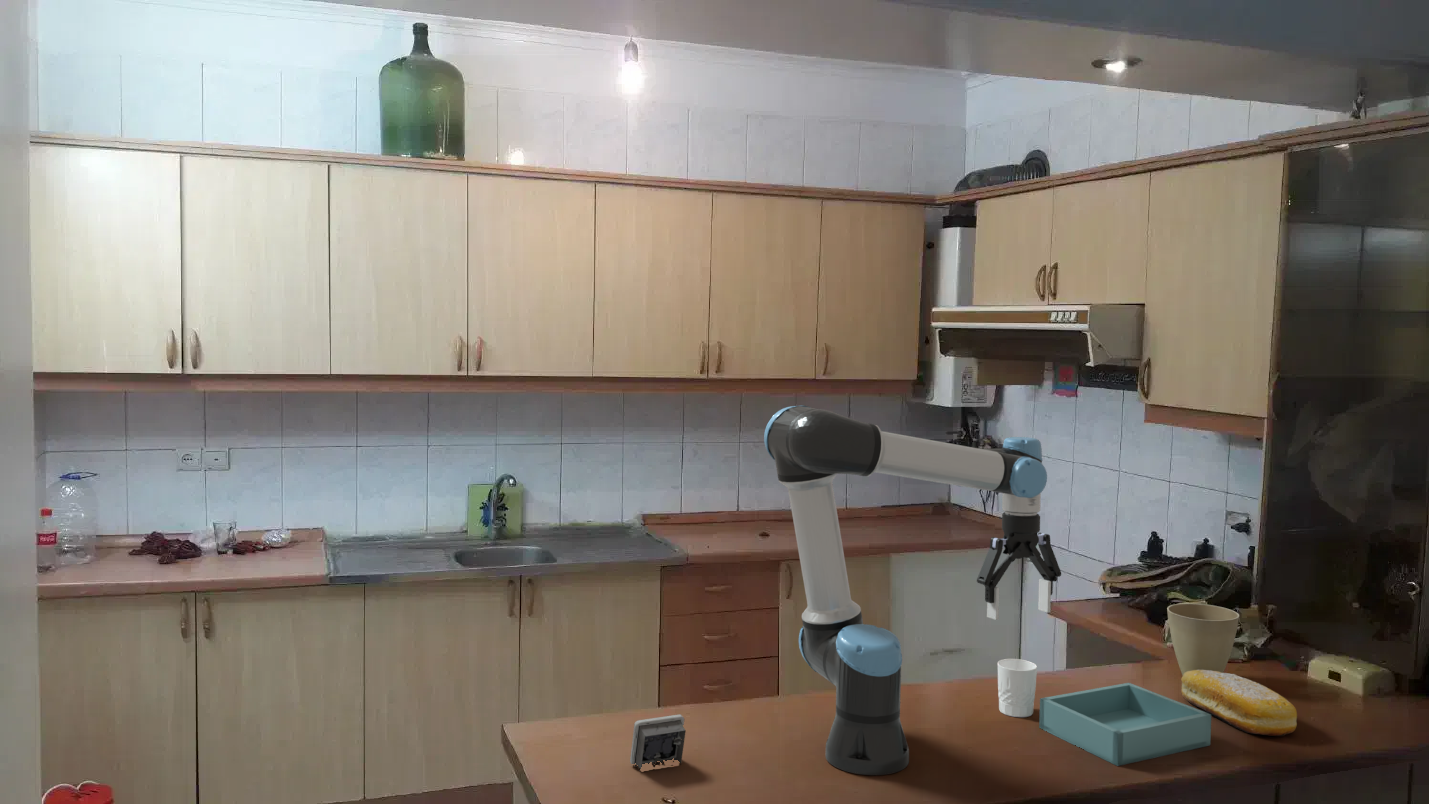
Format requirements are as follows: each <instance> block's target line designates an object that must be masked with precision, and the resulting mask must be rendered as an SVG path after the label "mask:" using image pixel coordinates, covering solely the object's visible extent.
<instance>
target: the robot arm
mask: <svg viewBox="0 0 1429 804" xmlns="http://www.w3.org/2000/svg"><path fill="white" fill-rule="evenodd" d="M769 419H770V420H769V421H768V423H767V424H766V427H765V429H764V434H763V435H764V436H763V440H764V441H763V442H764V447H765V450H766V452H767V453H768V454H769V456H770V457H771V458H772V459H773V460H774V462H775V468H776V473H777V478H778V483H780V484H781V485H783V486H785V487H786V489H787V492H788V497H789V498H788V499H789V502H790V503H789V504H790V508H791V515H792V520H793V526H794V532H795V539H796V545H797V551H798V556H799V562H800V568H801V575H802V579H803V586H804V593H805V598H806V604H807V606H806V608H805V609H804V611H803V612H802V613H801V621H802V627H801V628H800V630H799V635H798V647H799V651H800V654H801V656H802V659H803V660H804V661H805V662H806V663H807V665H808V666H809V668H811V669H812V670H813V671H814V672H815V673H817V674H818V675H820V676H821V677H823V678H825V680H826V681H828V682H829V683H831V684H832V685H834V686H835V688H836V689H835V690H836V691H835V717H834V720H833V722H832V725H831V728H830V730H829V734H828V737H827V739H826V743H825V760H826V761H827V762H828V763H829V764H830V765H832V766H833V767H835V768H837V769H839V770H842V771H844V772H847V773H852V774H856V775H864V776H883V775H890V774H895V773H898V772H900V771H903V770H904V769H905V768H907V767H908V765H909V762H910V749H909V745H908V742H907V739H906V735H905V733H904V729H903V726H902V725H903V724H902V722H901V691H902V688H901V687H902V663H903V654H902V647H901V646H902V645H901V642H900V639H899V638H898V637H897V636H896V634H895V633H893V632H892V631H890V630H889V629H886V628H884V627H877V625H873V624H866V623H865V624H864V622H863V621H864V620H863V614H862V608H861V606H860V605H859V604H858V603H857V602H855V600H854V601H853V600H852V598H851V597H852V596H851V589H850V583H849V577H848V572H847V565H846V559H845V554H844V547H843V541H842V534H841V527H840V522H839V516H838V510H837V509H838V508H837V504H836V499H835V498H836V497H835V492H834V490H835V489H834V486H833V485H834V484H833V481H834V480H835V478H836V477H837V475H852V476H853V475H854V476H860V477H870V476H872V475H873V474H874V473H877V474H884V475H890V476H897V477H903V478H906V479H907V478H908V479H915V480H921V481H927V482H931V483H933V482H934V483H939V484H946V485H951V486H956V487H965V488H971V489H976V490H977V489H978V490H981V491H989V492H993V493H1001V494H1002V499H1001V500H1002V501H1001V503H1002V504H1001V506H1002V507H1001V510H1003V511H1004V512H1003V513H1002V514H1001V529H1002V531H1003V537H1002V538H998V537H994V536H992V537H991V538H990V541H989V542H990V543H989V549H988V551H987V554H986V556H985V558H984V561H983V563H982V565H981V568H980V571H979V574H978V576H977V578H976V582H977V584H980V585H983V586H984V587H985V588H984V591H985V592H984V601H985V602H986V605H987V606H986V618H989V619H992V620H994V621H999V620H1000V618H999V617H1000V587H998V586H997V585H998V584H999V582H1000V580H1001V579H1002V577H1003V576H1004V575H1005V573H1006V572H1007V570H1008V568H1009V566H1011V564H1012V563H1013V562H1014V561H1016V559H1017V560H1019V559H1022V558H1025V559H1028V558H1029V560H1030V562H1031V563H1032V565H1033V566H1034V567H1035V568H1036V571H1037V572H1038V573H1039V575H1040V576H1041V578H1039V579H1038V605H1037V607H1038V608H1037V609H1038V611H1041V612H1045V613H1048V614H1049V613H1051V601H1052V600H1051V596H1052V595H1053V592H1054V591H1053V589H1054V584H1053V583H1054V582H1057V581H1058V578H1059V577H1061V576H1062V571H1061V568H1060V566H1059V564H1058V560H1057V558H1056V555H1055V552H1054V549H1053V547H1052V545H1051V536H1050V534H1048V533H1043V532H1040V531H1041V515H1040V514H1039V513H1040V511H1041V493H1042V492H1043V491H1044V489H1045V488H1046V485H1047V482H1048V472H1047V469H1046V467H1045V466H1044V464H1043V458H1042V457H1043V455H1042V454H1043V451H1042V449H1043V448H1042V442H1041V441H1040V440H1039V439H1037V438H1036V437H1035V438H1034V437H1028V436H1027V437H1025V436H1024V437H1023V436H1011V437H1006V438H1005V439H1004V440H1003V445H1002V447H1000V448H978V447H971V446H966V445H960V444H957V443H956V444H955V443H950V442H943V441H938V440H931V439H928V438H921V437H917V436H916V437H915V436H910V435H905V434H904V435H903V434H899V433H895V432H894V433H893V432H888V431H884V430H883V431H882V429H881V428H880V427H879V426H878V425H876V424H874V423H870V422H869V423H868V422H865V421H860V420H857V419H854V418H851V417H848V416H845V415H842V414H839V413H836V412H834V411H831V410H828V409H820V408H813V407H810V406H808V405H807V406H806V405H792V406H787V407H783V408H782V409H779V410H778V411H777V412H775V413H774V414H773V415H772V417H771V418H769ZM1037 546H1038V548H1037Z"/></svg>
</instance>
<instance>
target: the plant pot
mask: <svg viewBox="0 0 1429 804" xmlns="http://www.w3.org/2000/svg"><path fill="white" fill-rule="evenodd" d="M1166 609H1167V610H1166V611H1167V619H1168V626H1169V632H1170V637H1171V642H1172V646H1173V650H1174V654H1175V657H1176V659H1177V660H1176V661H1177V664H1178V666H1179V670H1180V672H1181V675H1182V676H1183V675H1184V673H1185V672H1188V671H1193V670H1209V671H1210V670H1211V671H1218V672H1221V673H1225V670H1226V667H1227V665H1228V662H1229V659H1230V656H1231V653H1232V650H1233V646H1234V643H1235V640H1236V634H1237V630H1238V625H1239V620H1240V614H1239V613H1238V612H1237V611H1234V610H1233V609H1229V608H1226V607H1222V606H1217V605H1212V604H1204V603H1189V602H1187V603H1176V604H1170V605H1169V606H1167V608H1166Z"/></svg>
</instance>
